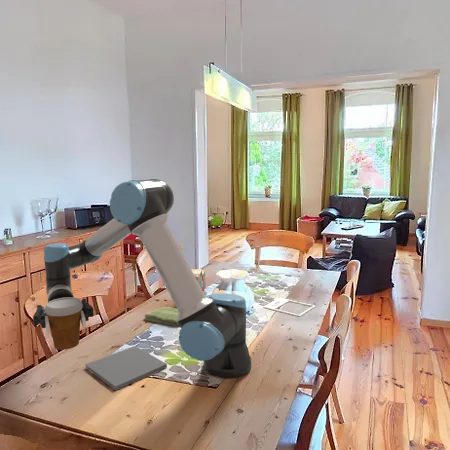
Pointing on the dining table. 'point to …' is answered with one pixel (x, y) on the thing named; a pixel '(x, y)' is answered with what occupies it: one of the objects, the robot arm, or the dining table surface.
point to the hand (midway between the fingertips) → (66, 326)
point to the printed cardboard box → (200, 277)
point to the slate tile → (125, 367)
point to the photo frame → (281, 301)
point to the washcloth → (164, 316)
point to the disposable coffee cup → (64, 321)
